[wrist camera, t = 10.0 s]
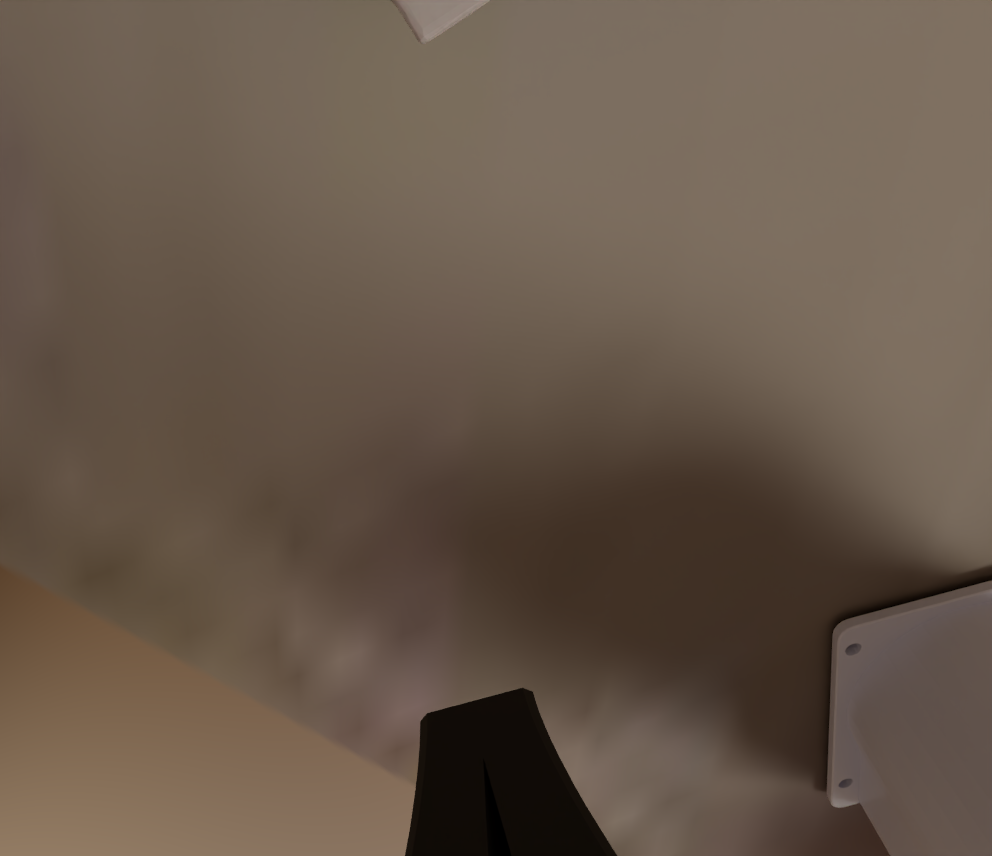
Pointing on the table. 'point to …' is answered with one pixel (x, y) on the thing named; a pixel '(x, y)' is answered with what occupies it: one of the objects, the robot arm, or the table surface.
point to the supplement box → (435, 15)
